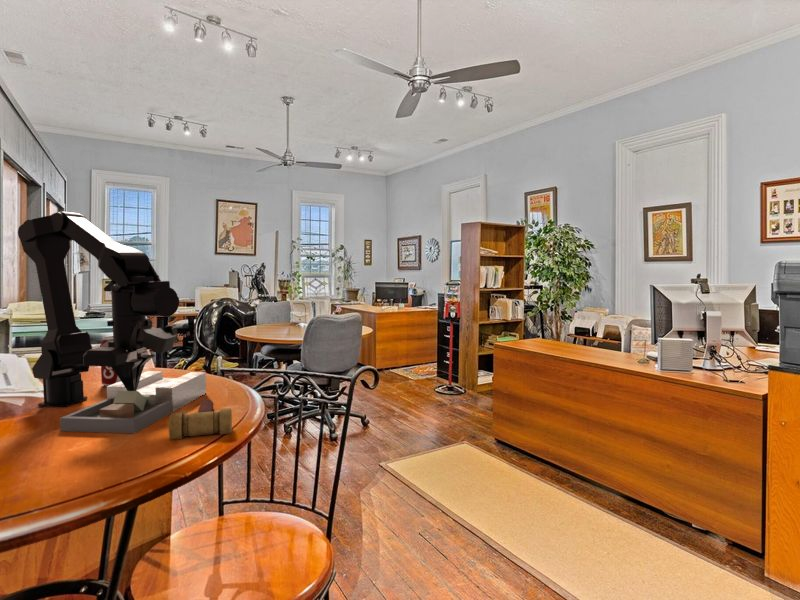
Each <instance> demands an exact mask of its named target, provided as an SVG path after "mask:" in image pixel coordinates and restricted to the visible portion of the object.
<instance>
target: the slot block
mask: <svg viewBox="0 0 800 600" xmlns="http://www.w3.org/2000/svg"><path fill="white" fill-rule="evenodd" d="M206 375H207V373H206V371H204V372H203V371H202V372H201V371H200V372H199V371H190V372H188V373H186V374H183V375H181V376H179V377H163V371H161V370H160V371H156V370H154V371H153V370H147V371H145V372H142V374H141V377H140V380H139V384H138V387H137V390H136V391H138V392H140V393H141V394H142V395H143V396H144V397H145V398H146V399H147V400H146V403H145V406H144V409H152V408H154V407H156V406H158V405H160V404H162V403H164V402H166V401H172V413H175V412H176V411H177V410H179V409H181V408H183V407H185V406H186V405H188V404H190V403H191V401H192V402H193V400H194V401H196V400H197V399H199V398H201V397H202V395H203V396H204V395H206V394H207V376H206ZM118 391H127V389H126V388H125V386H124V385H123V383H122V381H120V382H117V383H115V384H112V385H109V386H106V399H111V404H113V402H114V399H115V397H116V394H117V392H118ZM205 393H206V394H205ZM200 396H201V397H200ZM198 397H199V398H198ZM196 398H197V399H196ZM184 405H185V406H184ZM175 410H176V411H175Z"/></svg>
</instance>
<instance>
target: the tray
mask: <svg viewBox="0 0 800 600" xmlns="http://www.w3.org/2000/svg"><path fill="white" fill-rule="evenodd" d="M109 405H111V399H107V398H106V399H104V400H100V401H99V402H95V403H93V404H91V405H89V406H87V407H83V408H81V409H79V410H76V411H74V412H71V413H69V414H67V415H63V416H62V417H59V425H60V426H59V427H60V428H59V429H60V432H78V433H79V432H81V433H83V432H84V433H113V434H115V433H116V434H136V433H138V432H139V431H141V430H143V429H145V428H147V427H149V426H150V424H151V425H152V424H154V423H157V421H159V420H161V419H163V418H164V417H167V416H168V415H171V414H172V413H173V412H172V401H166V402H164V403H162V404H160V405H158V406H156V407H154V408H152V409H143V411H134V417H132V418H106V417H100V409H102V408H104V407H106V406H109ZM148 425H149V426H148Z"/></svg>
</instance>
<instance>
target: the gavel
mask: <svg viewBox="0 0 800 600" xmlns="http://www.w3.org/2000/svg"><path fill="white" fill-rule="evenodd" d="M213 408H214V402H213V400H211V399H210V398H207V399H203V400H201V402H200V404H199V407H198V410H197V412H194V413H193V412H192V413H191V412H190V413H188V414H184V412H182V411H181V412H172V413H170V414H169V419H168V436H169V439H170V440H171V441H173V440H172V439H175V440H181V439H180V438H182V439H183V438H184V437H189V436H190V437H198V436H207V435H214V434H218V433H219V435H228V434H232V432H233V431H232V430H233V427H232V426H233V425H232V424H233V420H232V419H233V418H232V416H233V414H232V408H231V407H226V408H220V409H219V411H213Z"/></svg>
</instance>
